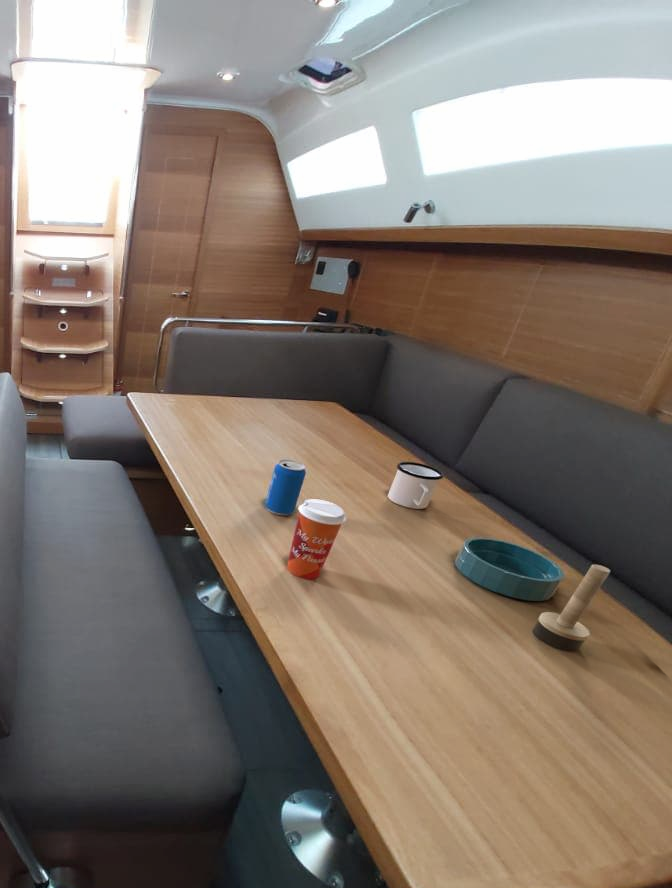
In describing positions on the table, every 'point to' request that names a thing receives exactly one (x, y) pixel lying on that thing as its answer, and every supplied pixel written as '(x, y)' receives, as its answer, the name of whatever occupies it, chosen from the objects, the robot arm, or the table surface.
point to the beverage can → (285, 487)
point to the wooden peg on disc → (571, 614)
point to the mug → (414, 484)
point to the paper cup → (314, 537)
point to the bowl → (509, 569)
